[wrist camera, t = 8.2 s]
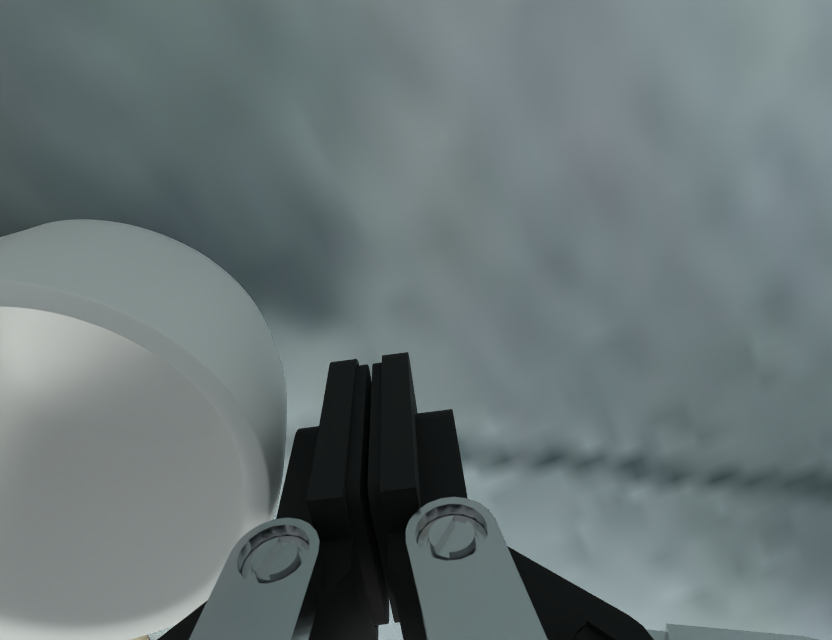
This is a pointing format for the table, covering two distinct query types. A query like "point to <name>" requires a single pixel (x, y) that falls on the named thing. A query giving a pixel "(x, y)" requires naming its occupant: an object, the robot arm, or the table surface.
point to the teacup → (127, 429)
